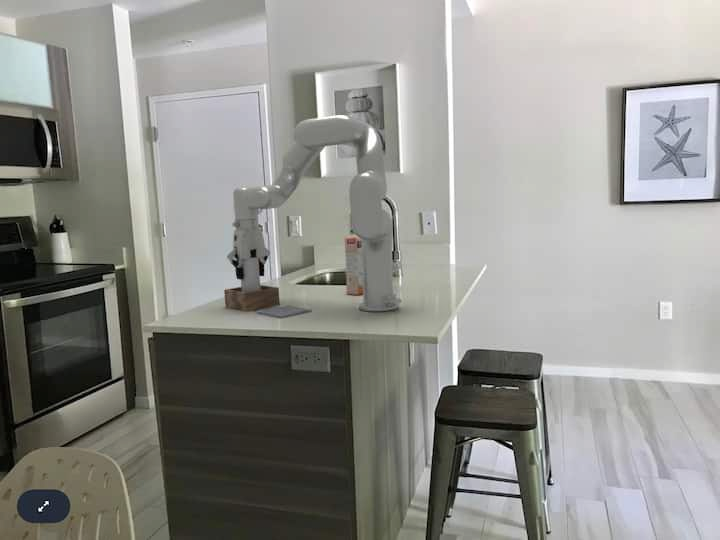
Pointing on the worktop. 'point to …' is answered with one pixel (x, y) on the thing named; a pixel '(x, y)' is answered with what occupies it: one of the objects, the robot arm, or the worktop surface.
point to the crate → (252, 298)
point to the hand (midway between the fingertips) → (250, 277)
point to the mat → (284, 311)
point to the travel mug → (251, 273)
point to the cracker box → (354, 265)
